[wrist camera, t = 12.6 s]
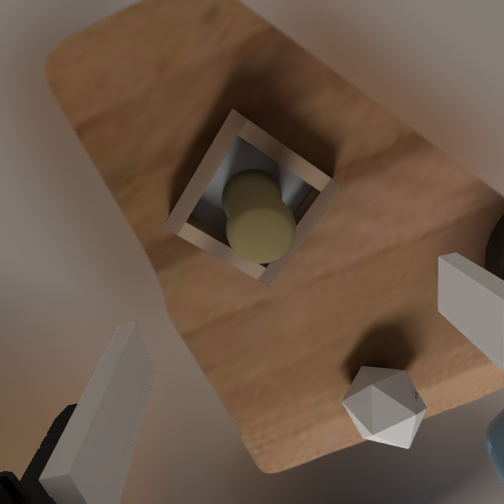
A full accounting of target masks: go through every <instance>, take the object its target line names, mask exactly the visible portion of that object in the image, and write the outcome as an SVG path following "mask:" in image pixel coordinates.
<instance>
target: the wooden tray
mask: <svg viewBox="0 0 504 504" xmlns="http://www.w3.org/2000/svg"><path fill="white" fill-rule="evenodd" d="M248 169H257V170H261V171H265V172H266V173H268V174H269V175H271V176H272V177H273V178H274V179H275V180H276V182H277V183H278V185H279V187H280V190H281V193H282V201H283V202H284V203H285V204H286V205H287V206H288V208H289V209H290V210H291V212H292V213H293V216H294V219H295V222H296V235H295V238H294V241H293V244H292V246H291V247H290V249H289V250H288V251H287V253H286V254H284V255H283V256H282V257H280V258H279V259H277V260H275V261H272V262H270V263H261V264H257V263H253V262H248V261H247V260H245V259H243V258H241V257H240V256H239V255H238V254H237V253H236V252H235V251H234V250H233V249H232V248H231V246H230V244H229V241H228V239H227V231H226V224H227V220H228V218H227V216H226V213H225V211H224V209H223V207H222V193H223V189H224V187H225V185H226V183H227V182H228V180H229V179H230V178H231V177H233V176H234V175H235V174H236V173H238V172H241V171H243V170H248ZM342 189H343V186H341V185H340V184H339V183H337V182H336V181H334V180H333V179H332V178H330V177H329V176H327V175H326V174H324V173H323V172H322V171H320V170H319V169H317V168H316V167H315V166H313V165H312V164H310V163H309V162H307V161H306V160H305V159H303V158H302V157H300V156H299V155H298V154H296V153H295V152H293V151H292V150H290V149H289V148H288V147H286V146H285V145H283V144H282V143H281V142H279V141H278V140H276V139H275V138H273V137H272V136H271V135H269V134H268V133H266V132H265V131H264V130H262V129H261V128H259V127H258V126H256V125H255V124H254V123H252V122H251V121H249V120H248V119H247V118H245V117H244V116H242V115H241V114H239V113H238V112H237V111H235V110H234V109H231V111H230V113H229V115H228V116H227V118H226V120H225V121H224V123H223V125H222V127H221V128H220V130H219V132H218V133H217V135H216V137H215V138H214V140H213V142H212V144H211V145H210V147H209V149H208V150H207V152H206V154H205V155H204V157H203V159H202V161H201V162H200V164H199V166H198V167H197V169H196V171H195V172H194V174H193V176H192V178H191V179H190V181H189V183H188V184H187V186H186V188H185V190H184V191H183V193H182V195H181V196H180V198H179V200H178V201H177V203H176V205H175V207H174V208H173V210H172V212H171V213H170V215H169V217H168V219H167V221H166V222H165V224H164V226H163V227H164V228H166V229H167V230H169V231H171V232H173V233H175V234H176V235H178V236H180V237H182V238H184V239H185V240H187V241H189V242H191V243H192V244H194V245H196V246H198V247H200V248H201V249H203V250H205V251H207V252H209V253H210V254H212V255H214V256H216V257H218V258H219V259H221V260H223V261H225V262H226V263H228V264H230V265H232V266H234V267H235V268H237V269H239V270H241V271H243V272H244V273H246V274H248V275H250V276H252V277H253V278H255V279H257V280H259V281H261V282H262V283H264V284H266V285H268V286H269V287H270V286H271V285H272V283H273V282H274V281H275V279H276V278H277V277H278V275H279V274H280V272H281V271H282V270H283V268H284V267H285V266H286V264H287V263H288V262H289V260H290V259H291V258H292V256H293V255H294V254H295V252H296V251H297V250H298V248H299V247H300V245H301V244H302V243H303V241H304V240H305V239H306V237H307V236H308V235H309V233H310V232H311V231H312V229H313V228H314V227H315V225H316V224H317V223H318V221H319V220H320V219H321V217H322V216H323V214H324V213H325V212H326V210H327V209H328V208H329V206H330V205H331V204H332V202H333V201H334V200H335V198H336V197H337V196H338V194H339V193H340V192H341V190H342Z"/></svg>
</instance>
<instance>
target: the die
mask: <svg viewBox="0 0 504 504" xmlns="http://www.w3.org/2000/svg"><path fill="white" fill-rule="evenodd" d="M342 403H343V405H344V406H345V408H346V410H347V411H348V413H349V415H350V417H351V418H352V420H353V422H354V423H355V425H356V427H357V429H358V430H359V432H360V434H361V435H362V437H363V438H364V439H369V440H374V441H377V442H382V443H386V444H390V445H394V446H399V447H403V448H407V449H409V447H410V445H411V443H412V441H413V438H414V436H415V434H416V432H417V429H418V427H419V425H420V423H421V420H422V418H423V416H424V414H425V411H426V409H427V407H426V406H425V404H424V402H423V400H422V399H421V397H420V395H419V393H418V392H417V390H416V388H415V387H414V385H413V383H412V381H411V380H410V378H409V376H408V374H407V373H406V371H405V370H397V369H388V368H378V367H369V366H361V368H360V370H359V371H358V373H357V375H356V377H355V379H354V380H353V382H352V384H351V386H350V388H349V389H348V391H347V393H346V395H345V396H344V398H343V400H342Z"/></svg>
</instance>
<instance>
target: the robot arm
mask: <svg viewBox="0 0 504 504" xmlns="http://www.w3.org/2000/svg"><path fill="white" fill-rule="evenodd" d="M485 263H486V270H485V269H483V268H482V267H480V266H478V265H477V264H475V263H473V262H472V261H470V260H468V259H467V258H465V257H463V256H462V255H460V254H458V253H457V252H456V253H451V254H446V255H442V256H438V311H439V312H440V313H441V314H442V315H443V316H444V317H445V318H446V319H447V320H448V321H449V322H450V323H452V324H453V325H454V326H455V327H456V328H457V329H458V330H459V331H460V332H461V333H462V334H463V335H465V336H466V337H467V338H468V339H469V340H470V341H471V342H472V343H473V344H474V345H475V346H476V347H477V348H479V349H480V350H481V351H482V352H483V353H484V354H485V355H486V356H487V357H488V358H489V359H490V360H492V361H493V362H494V363H495V364H496V365H497V366H498V367H499V368H500V369H501V370H502V371H503V372H504V216H503V218H502V219H501V220H500V222H499V223H498V225H497V226H496V228H495V230H494V232H493V234H492V236H491V238H490V241H489V244H488V247H487V252H486V260H485ZM155 372H156V370H155V368H154V365H153V363H152V360H151V358H150V355H149V353H148V350H147V348H146V345H145V343H144V340H143V338H142V335H141V333H140V330H139V328H138V326H137V323H136V322H131V323H126V324H122V325H118V327H117V329H116V331H115V333H114V335H113V337H112V339H111V341H110V343H109V345H108V347H107V348H106V350H105V353H104V354H103V356H102V358H101V360H100V362H99V364H98V366H97V368H96V370H95V372H94V374H93V375H92V377H91V379H90V381H89V383H88V385H87V387H86V389H85V391H84V393H83V395H82V397H81V399H80V401H79V403H77V404H73V405H68V406H67V407H66V408H65V409H64V410H63V411H62V412H61V413H60V415H58V417H57V418H56V419H55V420H54V422H53V424H52V425H51V427H50V429H49V431H48V432H47V436H46V437H45V438H44V440H43V441H42V443H41V445H40V448H39V449H38V450H37V452H36V454H35V455H34V457H33V459H32V461H31V462H30V464H29V466H28V468H27V469H26V471H25V473H24V475H23V477H22V478H21V480H20V481H19V480H18V478H17V477H16V476H15V475H14V474H13V472H8V471H3V472H0V504H119V502H120V498H121V495H122V491H123V488H124V484H125V480H126V476H127V473H128V469H129V466H130V462H131V458H132V455H133V452H134V448H135V444H136V441H137V437H138V433H139V430H140V426H141V423H142V419H143V415H144V412H145V408H146V405H147V401H148V397H149V394H150V390H151V387H152V383H153V380H154V376H155ZM486 445H487V449H488V452H489V455H490V457H491V459H492V462H493V464H494V466H495V468H496V470H497V472H498V474H499V475H500V477H501V479H502V481H503V482H504V409H503V410H502V411H501V412H500V413H499V414H498V415H497V416H496V417H495V418H494V419H493V420H492V421H491V422H490V424H489V425H488V427H487V430H486Z"/></svg>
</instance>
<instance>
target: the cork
mask: <svg viewBox="0 0 504 504" xmlns="http://www.w3.org/2000/svg"><path fill="white" fill-rule="evenodd" d="M222 207H223V209H224V211H225V213H226V216H227V218H228V220H227V224H226V231H227V239H228V241H229V244H230V246H231V248H232V249H233V250H234V251H235V252H236V253H237V254H238V255H239V256H240V257H241V258H243V259H245V260H247V261H248V262H253V263H257V264H261V263H270V262H272V261H275V260H277V259H279V258H280V257H282V256H283V255H284V254H286V253H287V251H288V250H289V249H290V247H291V246H292V244H293V241H294V238H295V235H296V222H295V219H294V216H293V213H292V212H291V210H290V209H289V208H288V206H287V205H286V204H285V203H284V202H283V201H282V193H281V190H280V187H279V185H278V183H277V182H276V180H275V179H274V178H273V177H272V176H271V175H269V174H268V173H266V172H265V171H261V170H257V169H248V170H243V171H241V172H238V173H236V174H235V175H234V176H233V177H231V178H230V179H229V180H228V182H227V183H226V185H225V187H224V189H223V193H222Z"/></svg>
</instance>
